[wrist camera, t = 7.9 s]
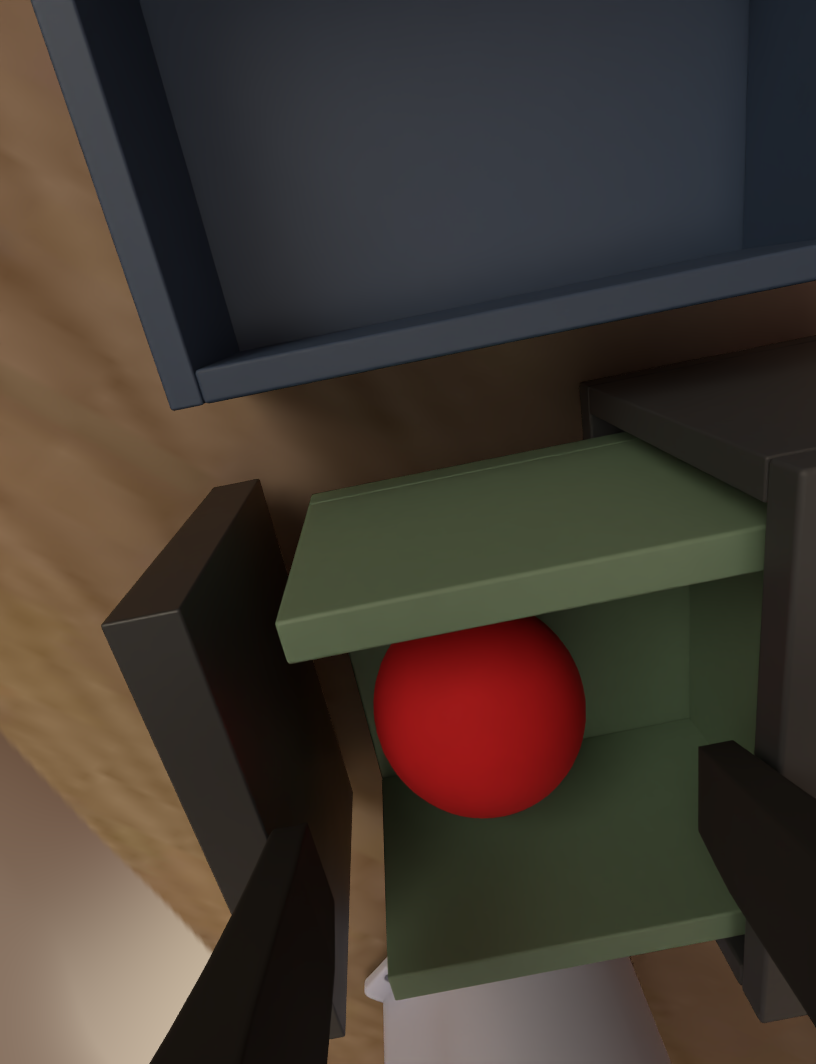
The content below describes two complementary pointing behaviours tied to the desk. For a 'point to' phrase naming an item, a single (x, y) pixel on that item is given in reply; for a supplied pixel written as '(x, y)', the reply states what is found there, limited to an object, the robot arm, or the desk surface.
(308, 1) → the box
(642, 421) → the cabinet
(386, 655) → the ball
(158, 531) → the desk surface
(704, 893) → the drawer
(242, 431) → the desk surface
